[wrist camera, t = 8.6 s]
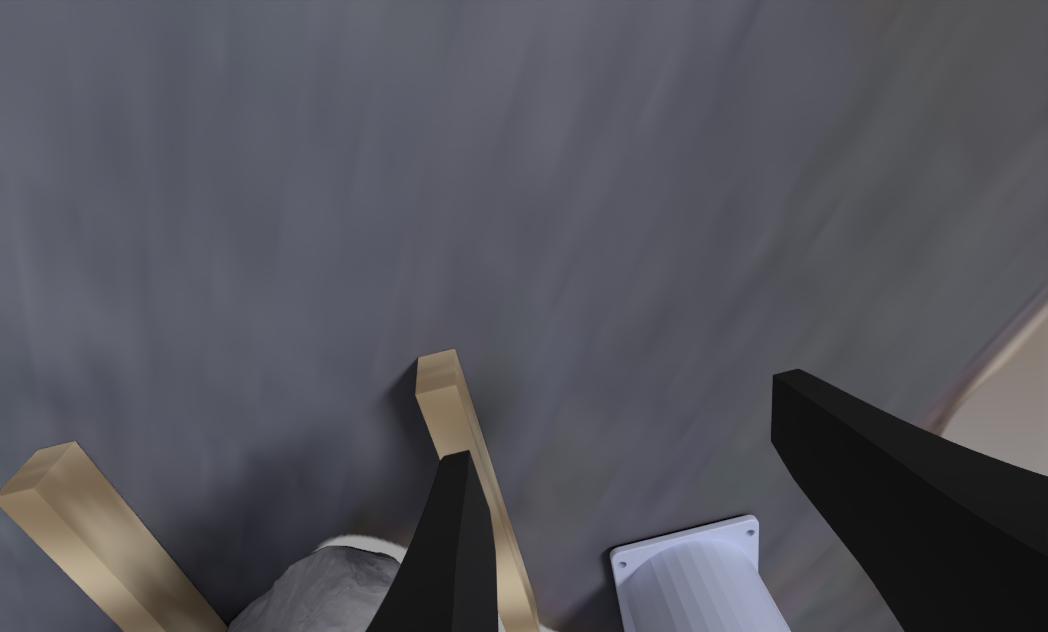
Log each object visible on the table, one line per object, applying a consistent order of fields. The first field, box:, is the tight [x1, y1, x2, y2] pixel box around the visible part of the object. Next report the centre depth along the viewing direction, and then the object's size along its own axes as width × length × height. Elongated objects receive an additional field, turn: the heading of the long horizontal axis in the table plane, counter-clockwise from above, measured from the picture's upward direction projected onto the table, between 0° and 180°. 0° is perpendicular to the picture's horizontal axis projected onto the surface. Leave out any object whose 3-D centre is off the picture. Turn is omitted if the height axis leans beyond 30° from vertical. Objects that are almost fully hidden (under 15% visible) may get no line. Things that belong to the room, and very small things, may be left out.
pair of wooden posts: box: [0, 349, 540, 632], centre depth 25 cm, size 17×17×2 cm
